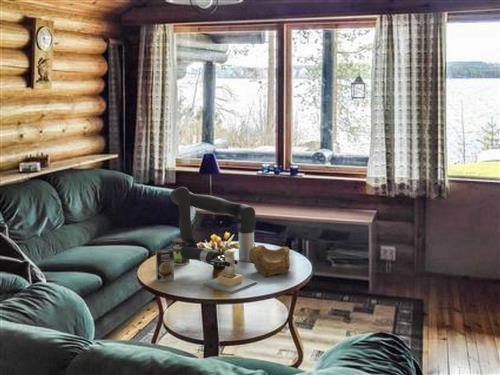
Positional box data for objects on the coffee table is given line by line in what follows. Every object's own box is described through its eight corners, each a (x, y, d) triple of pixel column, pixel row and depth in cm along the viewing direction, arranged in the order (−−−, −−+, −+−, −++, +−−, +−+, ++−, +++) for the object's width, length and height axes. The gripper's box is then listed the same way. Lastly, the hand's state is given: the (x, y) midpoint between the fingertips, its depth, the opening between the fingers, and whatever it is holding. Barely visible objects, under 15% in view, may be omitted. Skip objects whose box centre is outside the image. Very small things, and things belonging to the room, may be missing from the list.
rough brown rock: (249, 280, 304) (250, 254, 300) (248, 268, 320) (248, 243, 316) (292, 280, 305) (293, 254, 301) (288, 268, 321) (290, 243, 317)
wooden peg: (229, 275, 298) (229, 249, 295) (236, 277, 294) (236, 251, 292) (223, 277, 294) (222, 251, 291) (230, 279, 291) (229, 253, 288)
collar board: (229, 275, 309) (229, 267, 308) (257, 283, 296) (257, 274, 295) (203, 285, 294) (203, 276, 293) (231, 293, 281) (231, 285, 280)
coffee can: (185, 265, 326) (185, 242, 324) (169, 264, 329) (168, 241, 327) (192, 260, 336) (192, 237, 333) (176, 259, 339) (176, 236, 336)
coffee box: (157, 282, 299) (156, 253, 296) (156, 278, 305) (155, 249, 302) (174, 280, 301) (173, 251, 298) (173, 276, 307) (172, 248, 304)
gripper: (200, 253, 296) (223, 259, 285) (219, 247, 307) (242, 253, 296) (200, 266, 297) (224, 273, 286) (219, 260, 308) (242, 267, 297)
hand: (233, 263), depth 291 cm, fingers closed on wooden peg, 5 cm apart
